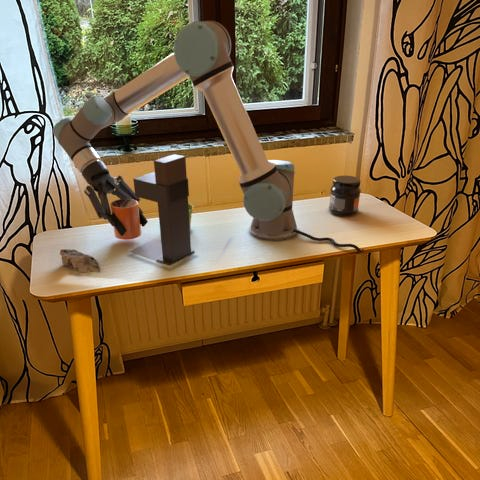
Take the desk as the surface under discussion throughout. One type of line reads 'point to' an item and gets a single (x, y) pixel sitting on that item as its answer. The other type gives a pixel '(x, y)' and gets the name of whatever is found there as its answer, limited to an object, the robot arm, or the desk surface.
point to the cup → (127, 217)
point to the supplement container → (345, 195)
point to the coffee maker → (167, 209)
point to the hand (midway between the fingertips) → (134, 228)
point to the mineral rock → (79, 261)
